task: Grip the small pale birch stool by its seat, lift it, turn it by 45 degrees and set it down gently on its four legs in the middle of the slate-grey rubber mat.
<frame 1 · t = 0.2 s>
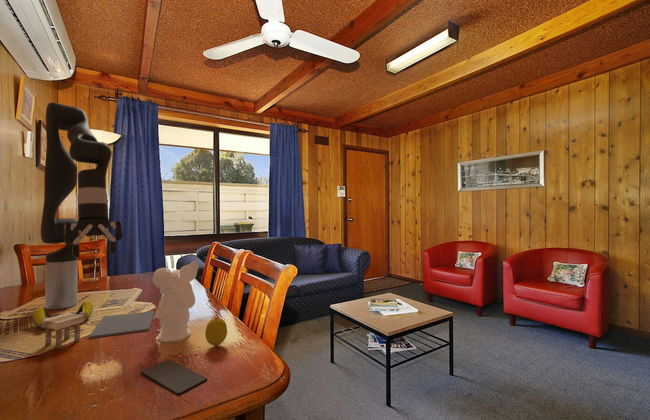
hand: (94, 255, 94), 23 cm above the table, tool pointing down, fingers open, 8 cm apart
gaming controller: (64, 324, 99), on the table
cherub figurine: (176, 334, 91), on the table
lemon: (216, 347, 83), on the table
mat: (125, 324, 98), on the table
smartphone: (173, 379, 67), on the table
stool: (62, 343, 84), on the table
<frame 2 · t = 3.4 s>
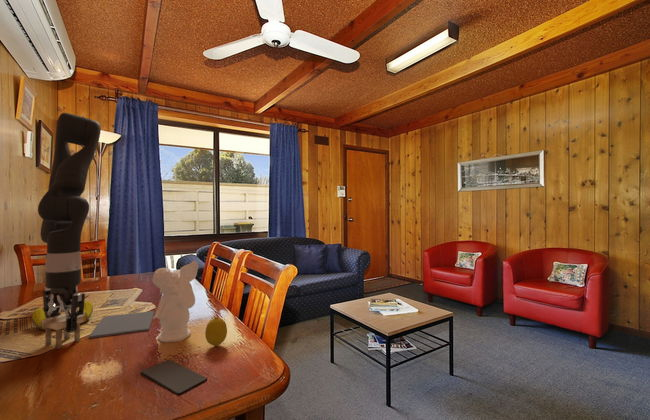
hand: (63, 329, 84), 4 cm above the table, tool pointing down, fingers closed on stool, 6 cm apart
stool: (62, 343, 84), on the table, touching gripper
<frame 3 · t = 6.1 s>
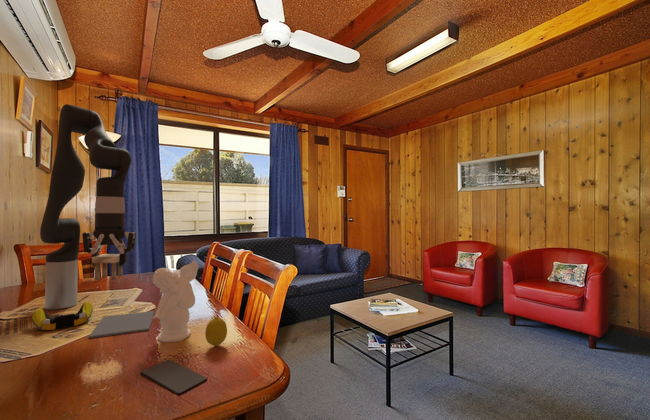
hand: (109, 265, 94), 19 cm above the table, tool pointing down, fingers closed on stool, 6 cm apart
stool: (109, 278, 94), point 16 cm above the table, touching gripper
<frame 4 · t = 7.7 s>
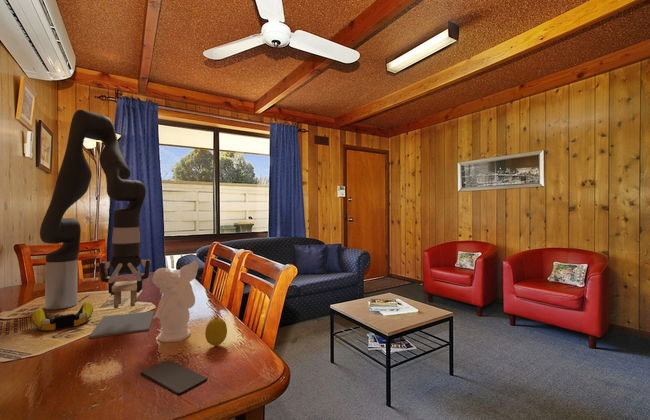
hand: (125, 293, 98), 10 cm above the table, tool pointing down, fingers closed on stool, 6 cm apart
stool: (125, 304, 98), point 6 cm above the table, touching gripper
when the fingers open (6 cm above the table, at t = 9.1 s): stool drops 1 cm, resting on mat.
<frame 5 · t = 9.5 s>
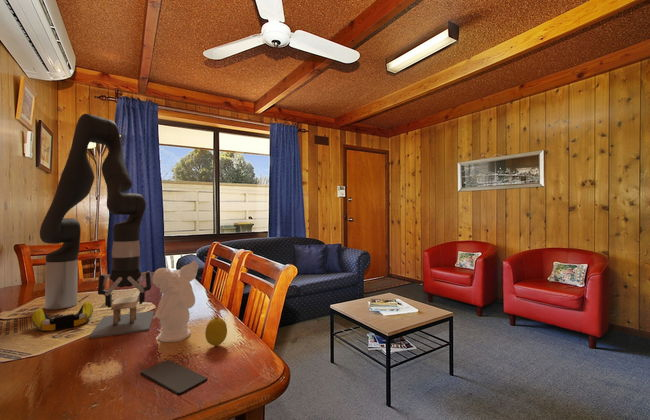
hand: (125, 305, 98), 6 cm above the table, tool pointing down, fingers open, 8 cm apart
stool: (125, 322, 98), point 1 cm above the table, touching mat
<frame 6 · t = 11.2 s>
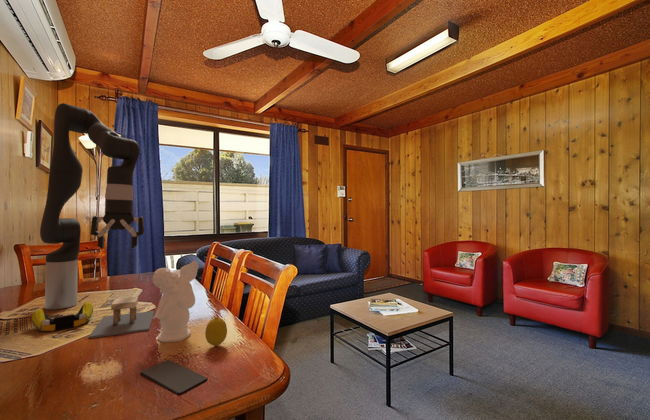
hand: (117, 248, 100), 24 cm above the table, tool pointing down, fingers open, 8 cm apart
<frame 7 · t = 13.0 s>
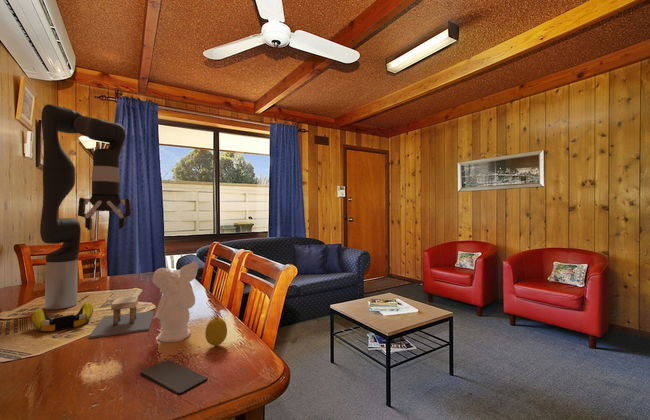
hand: (105, 229, 102), 30 cm above the table, tool pointing down, fingers open, 8 cm apart
at the end: stool inside the target area on the mat (0.1 cm from its centre), point 0.6 cm above the mat's base; stool tilted 0°; the gripper is holding nothing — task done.
